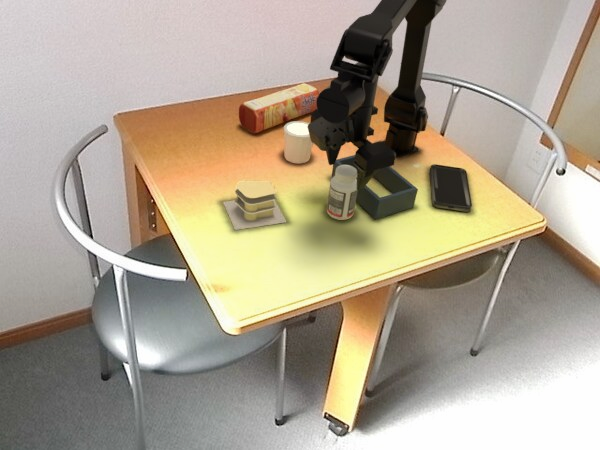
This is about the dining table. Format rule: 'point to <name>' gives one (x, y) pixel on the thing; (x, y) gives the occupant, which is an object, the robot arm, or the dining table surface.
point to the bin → (388, 204)
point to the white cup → (297, 142)
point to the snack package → (278, 107)
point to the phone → (450, 188)
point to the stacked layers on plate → (254, 205)
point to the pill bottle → (342, 193)
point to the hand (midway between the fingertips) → (345, 176)
